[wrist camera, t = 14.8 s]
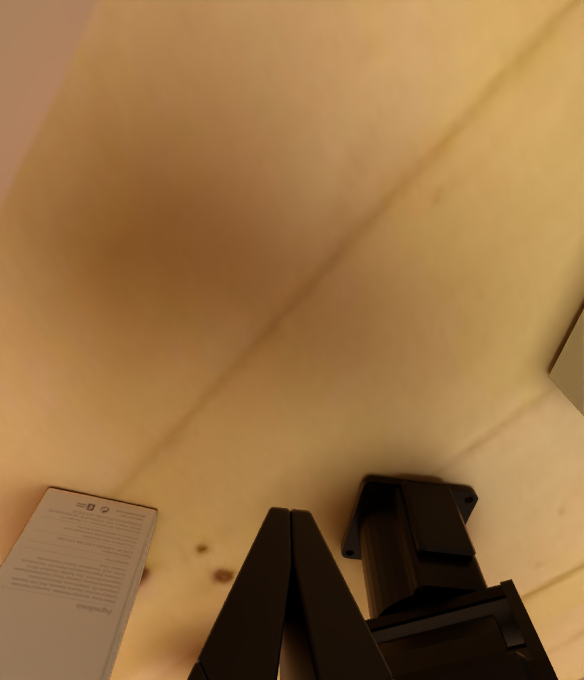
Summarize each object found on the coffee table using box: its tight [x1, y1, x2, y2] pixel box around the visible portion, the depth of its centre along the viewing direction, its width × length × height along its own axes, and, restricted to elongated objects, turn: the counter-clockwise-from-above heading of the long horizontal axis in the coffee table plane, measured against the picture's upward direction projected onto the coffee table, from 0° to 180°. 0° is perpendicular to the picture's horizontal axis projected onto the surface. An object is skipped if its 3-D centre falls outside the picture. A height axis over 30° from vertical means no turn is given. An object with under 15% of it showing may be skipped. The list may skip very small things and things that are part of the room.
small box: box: [0, 488, 157, 680], centre depth 22 cm, size 8×6×13 cm
